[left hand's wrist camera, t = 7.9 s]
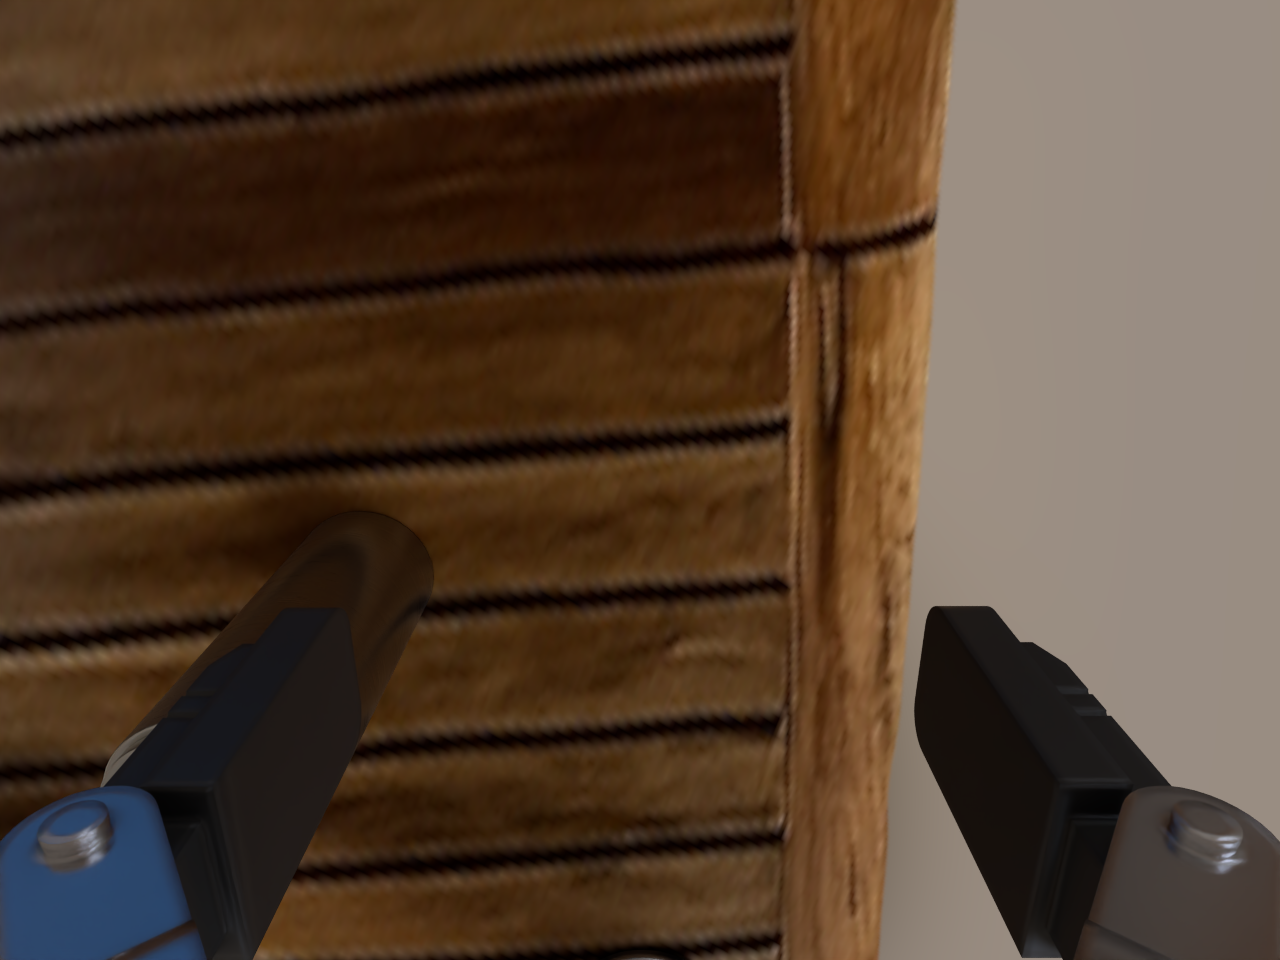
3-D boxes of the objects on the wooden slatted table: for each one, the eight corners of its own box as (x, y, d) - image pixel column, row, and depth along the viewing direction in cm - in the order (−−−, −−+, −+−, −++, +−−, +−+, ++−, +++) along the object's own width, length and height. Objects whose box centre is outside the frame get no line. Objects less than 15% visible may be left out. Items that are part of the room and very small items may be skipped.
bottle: (402, 494, 42) (166, 820, 21) (454, 609, 44) (287, 1006, 23) (277, 532, 43) (-70, 883, 22) (335, 643, 45) (70, 1057, 24)
